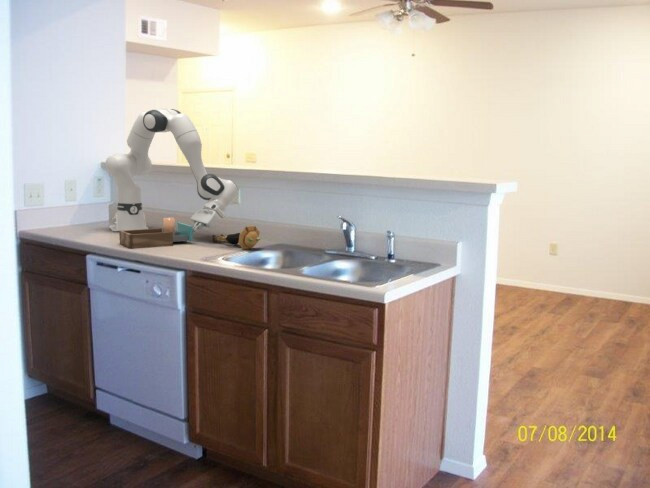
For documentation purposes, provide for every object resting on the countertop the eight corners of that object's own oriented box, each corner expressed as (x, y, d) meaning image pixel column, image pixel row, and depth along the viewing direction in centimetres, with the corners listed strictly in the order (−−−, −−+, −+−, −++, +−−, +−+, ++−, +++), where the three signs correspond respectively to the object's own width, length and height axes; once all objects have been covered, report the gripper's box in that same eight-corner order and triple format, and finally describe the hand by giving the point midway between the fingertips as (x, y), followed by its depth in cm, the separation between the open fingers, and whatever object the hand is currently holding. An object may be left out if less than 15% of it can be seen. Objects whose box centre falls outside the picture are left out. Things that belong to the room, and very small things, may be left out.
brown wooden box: (119, 244, 278) (119, 230, 277) (161, 241, 289) (160, 228, 288) (130, 248, 267) (129, 234, 266) (172, 245, 278) (172, 232, 277)
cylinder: (162, 237, 285) (161, 217, 284) (172, 236, 288) (172, 217, 286) (165, 238, 281) (165, 218, 279) (176, 238, 284) (176, 218, 282)
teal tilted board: (140, 239, 284) (139, 224, 283) (179, 236, 295) (179, 222, 294) (152, 244, 272) (151, 228, 271) (193, 241, 283) (192, 226, 282)
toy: (232, 227, 298) (270, 224, 276) (234, 248, 298) (272, 246, 276) (200, 229, 286) (238, 227, 264) (202, 251, 286) (240, 250, 264)
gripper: (199, 202, 302) (180, 223, 298) (218, 207, 286) (198, 229, 281) (207, 211, 305) (189, 232, 301) (227, 216, 289) (207, 238, 285)
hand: (194, 231), depth 291 cm, fingers closed
